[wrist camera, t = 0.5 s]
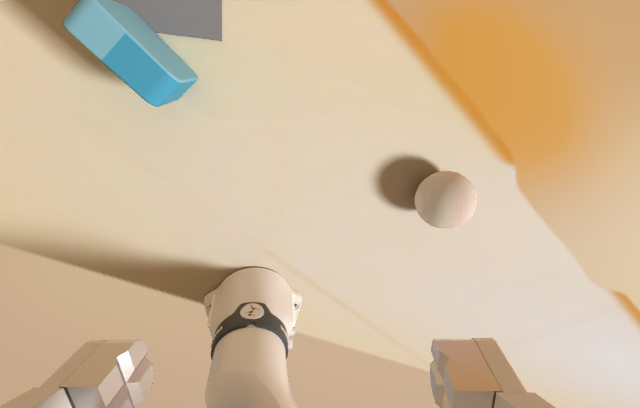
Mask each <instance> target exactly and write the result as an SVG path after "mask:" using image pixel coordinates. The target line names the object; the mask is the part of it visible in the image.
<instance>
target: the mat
mask: <svg viewBox="0 0 640 408" xmlns="http://www.w3.org/2000/svg"><path fill="white" fill-rule="evenodd" d="M113 1H116V2H118V3H121V4H123V5H125V6H127V7H129V8H130V9H132V10H133V11H134V12H135V13H136V14H137V15H138V16H139V17H140V18H141V19H142V20H143V21H144V22H145V23H146V24H147V25H148V26H149V27H150V28H151V29H152V30H153V31H154V32H156V33H164V34H172V35H180V36H188V37H196V38H203V39H211V40H219V41H222V0H113Z"/></svg>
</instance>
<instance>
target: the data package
mask: <svg viewBox="0 0 640 408" xmlns="http://www.w3.org/2000/svg"><path fill="white" fill-rule="evenodd" d="M63 25H64V27H65V28H66V29H67V30H68V31H69V32H70V33H71V34H72V35H73V36H74V37H75V38H76V39H77V40H78V41H79V42H81V43H82V44H83V45H84V46H85V47H86V48H87V49H88V50H89V51H91V52H92V53H93V54H94V55H95V56H96V57H97V58H98V59H99V60H101V61H102V62H103V63H104V64H105V65H106V66H107V67H108V68H109V69H111V70H112V71H113V72H114V73H115V74H116V75H117V76H118V77H119V78H121V79H122V80H123V81H124V82H125V83H126V84H127V85H128V86H129V87H131V88H132V89H133V90H134V91H135V92H136V93H137V94H138V95H139V96H141V97H142V98H143V99H144V100H145V101H147V102H148V103H150V104H151V105H153V106H156V107H159V106H162V105H164V104H167V103H170V102H172V101H175V100H178V99H179V98H180V97H181V96H182V95H183V94H184V93H185V92H186V91H187V90H188V89H189V88H190V87H191V86H192V85H193V84H194V83H195V82H196V81H197V79H198V77H197V75H196V74H195V73H194V71H193V70H192V69H191V68H190V67H189V66H188V65H187V64H186V63H185V62H184V61H183V60H182V59H181V58H180V57H179V56H178V55H177V54H176V53H175V52H174V51H173V50H172V49H171V48H170V47H169V46H168V45H167V44H166V43H165V42H164V41H163V40H162V39H161V38H160V37H159V36H158V35H157V34H156V33H155V32H154V31H153V30H152V29H151V28H150V27H149V26H148V25H147V24H146V23H145V22H144V21H143V20H142V19H141V18H140V17H139V16H138V15H137V14H136V13H135V12H134V11H133V10H132V9H130V8H129V7H127V6H125V5H123V4H121V3H118V2H116V1H113V0H79V2H78V3H77V4H76V5H75V6H74V8H73V9H72V10H71V11H70V13H69V14H68V15H67V16H66V17H65V19H64V20H63Z"/></svg>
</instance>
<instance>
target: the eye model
mask: <svg viewBox="0 0 640 408" xmlns="http://www.w3.org/2000/svg"><path fill="white" fill-rule="evenodd" d="M476 206H477V194H476V190H475V188H474V186H473V185H472V183H471V182H470V181H469V180H468V179H467V178H466V177H464V176H463V175H461V174H459V173H456V172H451V171H442V172H437V173H434V174H432V175H430V176H428V177H427V178H425V179H424V180H423V181H422V182H421V184H420V185H419V187H418V189H417V191H416V194H415V207H416V210H417V212H418V214H419V215H420V217H421V218H422V219H423V220H424V221H425V222H426V223H428V224H429V225H431V226H434V227H436V228H441V229H451V228H456V227H458V226H461V225H463V224H464V223H466V222H467V221H468V220H469V219H470V218H471V217H472V215H473V214H474V212H475V209H476Z"/></svg>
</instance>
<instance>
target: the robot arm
mask: <svg viewBox="0 0 640 408" xmlns="http://www.w3.org/2000/svg"><path fill="white" fill-rule="evenodd" d="M210 304H212V305H210ZM294 304H296V305H294ZM301 304H302V295H301V294H300V293H298V292H297V291H295V290H293V289H292V288H291V287H290V286H289V285H288V283H287V282H286V281H285V280H284V279H283V278H282V277H281V276H280V275H279V274H277V273H275V272H273V271H271V270H268V269H264V268H246V269H242V270H239V271H236V272H234V273H233V274H231V275H229V276H228V277H227V278H226V279H225V280H224V281H223V282H222V283H221V285H220V286H219V287H218V288H217V289H215V290H213V291H211V292H210V293H208V294H207V295H206V296H205V297H204V305H205V308H206V312H207V315H208V319H209V320H208V328H210V331H211V335H212V337H213V340H212V345H211V348H212V350H211V359H212V363H211V368H210V372H209V377H208V382H207V386H206V391H205V401H206V406H207V408H298V407H297V405H296V404H295V402H294V399H293V397H292V395H291V392H290V388H289V382H288V374H287V367H286V358H287V355H288V349H291V348H292V346H293V337H292V336H291V335H294V333H295V328H294V326H295V322H296V319H297V316H298V313H299V310H300V307H301ZM431 352H432V355H433V358H434V361H433V362H432V363H431V364H430V378H431V387H432V391H433V395H434V399H435V403H436V404H437V405H438V406H439V407H440V408H555V407H554V406H553V405H551V404H550V403H548V402H547V401H545V400H544V399H543V398H541V397H540V396H538V395H537V394H535V393H528V392H527V391H526V389H525V387H524V386H523V384H522V383H521V381H520V379H519V378H518V376H517V374H516V373H515V371H514V370H513V368H512V366H511V365H510V363H509V362H508V360H507V358H506V357H505V355H504V354H503V352H502V350H501V349H500V347H499V345H498V344H497V342H496V341H495V340H494V339H493V338H472V339H433V341H432V347H431ZM147 353H148V349H147V346H146V344H145V342H143V341H140V340H91V341H88V342H86V343H85V344H84V345H83V346H82V347H81V348H80V349H79V350H78V351H76V353H74V354H73V355H72V357H70V358H69V359H68V360H67V361H66V362H65V363H64V364H63V365H62V366H61V367H60V368H59V369H58V370H57V371H56V372H55V373H54V374H53V375H52V376H51V377H50V378H49V379H48V380H47V381H46V382H45V383H44V384H42V385H41V386H40V387H39V388H32V389H31V390H29V391H27V392H25V393H23V394H22V395H20V396H18V397H16V398H14V399H12V400H11V401H9V402H7V403H5V404H3V405H1V406H0V408H135V406H137V405H138V404H139V403H141V402H142V401H143V400H145V398H146V397H147V395H148V393H149V391H150V390H151V387H152V384H153V380H154V368H153V364H152V363H151V362H150V361H149V360H148V359H147V358H146V357H145V356H146V354H147Z"/></svg>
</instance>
